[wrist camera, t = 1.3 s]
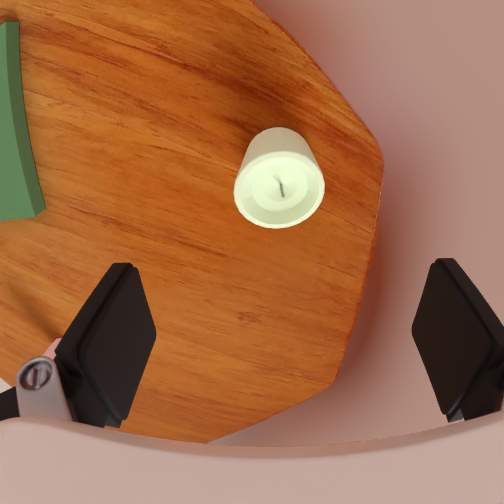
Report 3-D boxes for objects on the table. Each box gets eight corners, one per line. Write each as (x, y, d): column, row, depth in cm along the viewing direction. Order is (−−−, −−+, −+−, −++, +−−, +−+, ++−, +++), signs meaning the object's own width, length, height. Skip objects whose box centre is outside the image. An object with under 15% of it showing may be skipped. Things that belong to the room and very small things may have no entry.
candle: (324, 163, 23) (346, 203, 16) (275, 201, 25) (275, 255, 18) (282, 113, 22) (286, 131, 15) (232, 155, 24) (213, 193, 17)
